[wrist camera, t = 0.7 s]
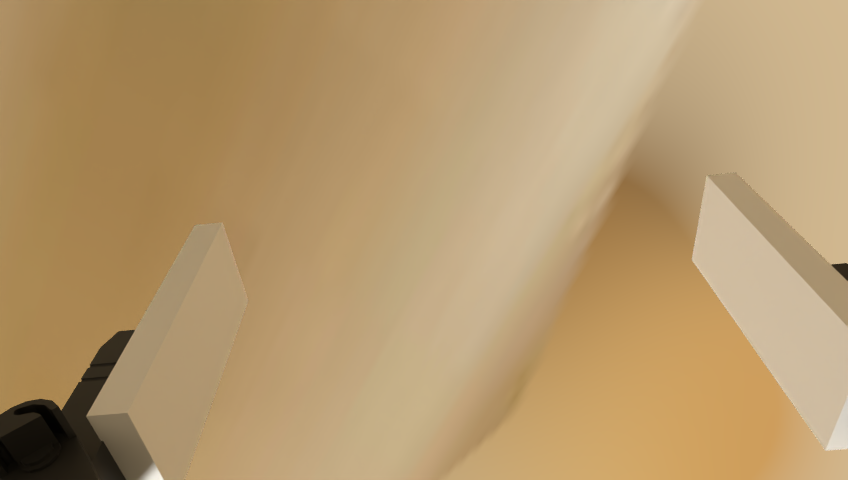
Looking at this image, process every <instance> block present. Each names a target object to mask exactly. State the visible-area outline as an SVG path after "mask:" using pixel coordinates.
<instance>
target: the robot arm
mask: <svg viewBox="0 0 848 480" xmlns="http://www.w3.org/2000/svg"><path fill="white" fill-rule="evenodd" d="M692 261H693V262H694V263H695V265H696V266H697V268H698V269H699V271H700V272H701V274H702V275H703V276H704V278H705V279H706V281H707V282H708V283H709V285H710V286H711V288H712V289H713V291H714V292H715V294H716V295H717V296H718V298H719V299H720V301H721V302H722V304H723V305H724V306H725V308H726V309H727V310H728V312H729V314H730V315H731V316H732V318H733V319H734V321H735V322H736V324H737V325H738V326H739V328H740V329H741V331H742V332H743V333H744V335H745V337H746V338H747V339H748V341H749V342H750V344H751V345H752V347H753V348H754V349H755V351H756V352H757V354H758V355H759V357H760V358H761V359H762V361H763V362H764V363H765V365H766V367H767V368H768V369H769V371H770V372H771V374H772V375H773V377H774V378H775V379H776V381H777V382H778V384H779V385H780V387H781V388H782V389H783V391H784V392H785V394H786V395H787V397H788V398H789V399H790V401H791V402H792V404H793V405H794V407H795V408H796V409H797V411H798V412H799V414H800V415H801V416H802V418H803V419H804V421H805V422H806V424H807V425H808V426H809V428H810V429H811V430H812V432H813V434H814V435H815V437H816V438H817V439H818V441H819V442H820V444H821V445H822V446H823V448H824V449H825V450H839V449H848V264H847V263H844V264H832V265H831V264H829V263H828V262H827V261H826V260H825V259H824V258H823V257H822V256H821V255H820V254H819V253H818V252H817V251H816V250H815V249H814V248H813V247H812V246H811V245H810V244H809V243H808V242H807V241H806V240H805V239H804V238H803V237H802V236H801V235H800V234H799V233H798V232H797V231H795V229H793V228H792V227H791V226H790V225H789V224H788V223H787V222H786V221H785V220H784V219H783V218H782V217H781V216H780V215H779V214H778V213H777V212H776V211H775V210H774V209H773V208H772V207H771V206H770V205H769V204H768V203H767V202H766V201H765V200H763V198H762V197H760V196H759V195H758V194H757V193H756V192H755V191H754V190H753V189H752V188H751V187H750V186H749V185H748V184H747V183H746V182H745V181H744V180H743V179H742V178H741V177H740V176H739V175H738V174H737V173H726V174H716V175H707V177H706V183H705V188H704V194H703V200H702V205H701V211H700V217H699V222H698V228H697V234H696V239H695V245H694V250H693V256H692ZM247 303H248V298H247V295H246V292H245V289H244V286H243V283H242V280H241V277H240V274H239V271H238V268H237V265H236V262H235V259H234V256H233V253H232V250H231V247H230V244H229V241H228V238H227V235H226V232H225V229H224V226H223V223H212V224H202V225H195V226H194V228H193V230H192V231H191V233H190V235H189V237H188V238H187V240H186V242H185V244H184V245H183V247H182V249H181V251H180V252H179V254H178V256H177V258H176V259H175V261H174V263H173V265H172V266H171V268H170V270H169V272H168V273H167V275H166V277H165V279H164V280H163V282H162V284H161V286H160V287H159V289H158V291H157V293H156V294H155V296H154V298H153V300H152V302H151V303H150V305H149V307H148V309H147V310H146V312H145V314H144V316H143V317H142V319H141V321H140V323H139V324H138V326H137V328H136V330H128V331H119V332H117V333H116V334H115V335H114V336H113V337H112V338H111V339H110V340H108V341H107V342H106V343H105V344H104V345H103V346H102V347H101V348H100V349H99V351H98V353H97V354H96V356H95V357H94V359H93V361H92V362H91V364H90V368H88V369H87V370H86V372H85V374H84V375H83V377H82V378H81V379H82V381H81V382H79V383H78V385H77V386H76V388H75V390H74V391H73V393H72V394H71V396H70V398H69V399H68V401H67V403H66V404H65V406H64V407H63V409H62V411H61V410H60V408H59V407H58V406H57V405H56V404H55V403H54V402H53V401H51V400H45V399H38V400H32V401H27V402H24V403H22V404H19V405H17V406H14V407H12V408H10V409H9V410H7V411H5V412H4V413H2V414H1V415H0V480H185V478H186V475H187V473H188V470H189V467H190V464H191V461H192V458H193V456H194V453H195V450H196V447H197V444H198V441H199V439H200V436H201V433H202V430H203V427H204V425H205V422H206V419H207V416H208V413H209V410H210V408H211V405H212V402H213V399H214V396H215V394H216V391H217V388H218V385H219V382H220V379H221V377H222V374H223V371H224V368H225V365H226V362H227V360H228V357H229V354H230V351H231V348H232V346H233V343H234V340H235V337H236V334H237V331H238V329H239V326H240V323H241V320H242V317H243V315H244V312H245V309H246V306H247Z"/></svg>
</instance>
